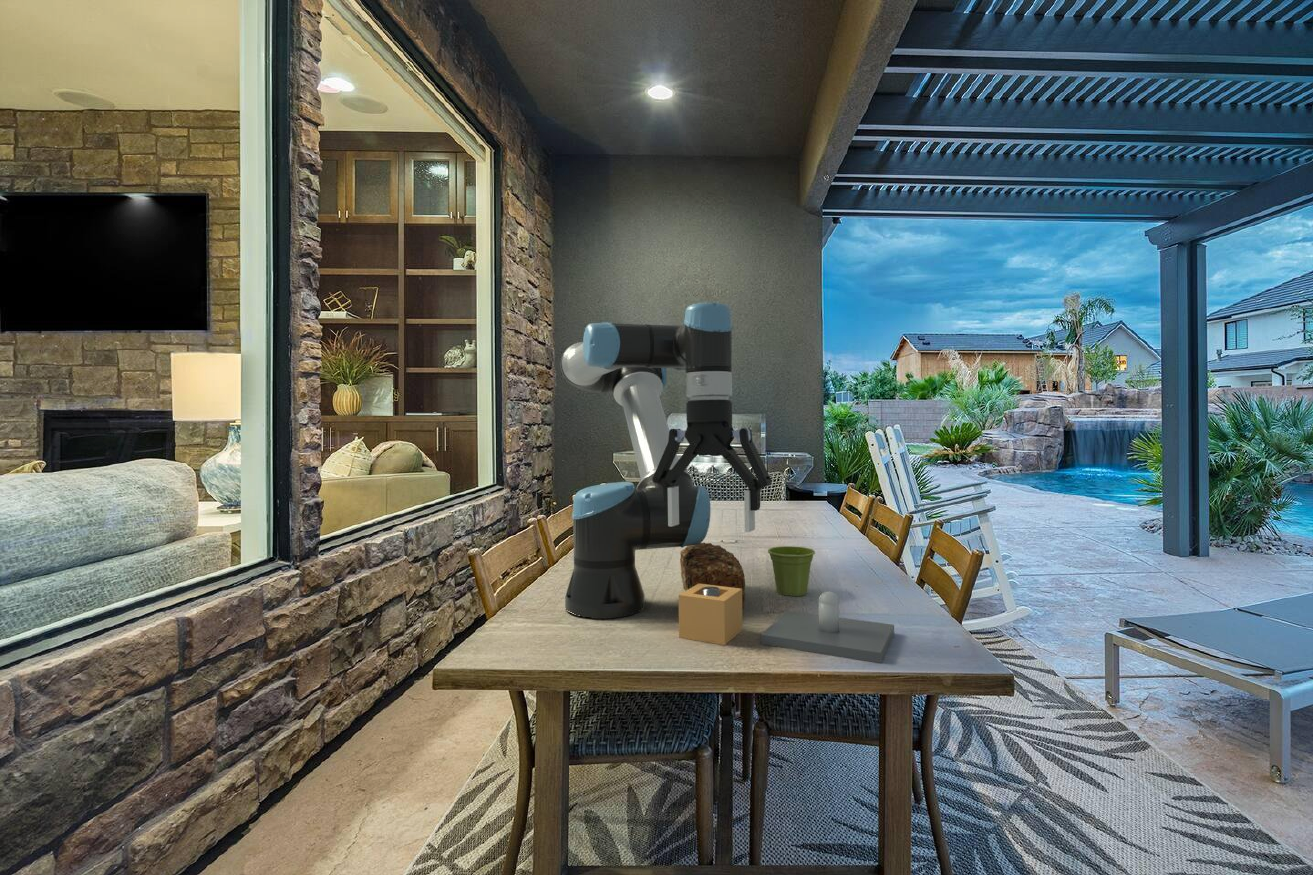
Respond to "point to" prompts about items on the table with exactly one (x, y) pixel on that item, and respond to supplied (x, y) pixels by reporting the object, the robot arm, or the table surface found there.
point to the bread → (711, 567)
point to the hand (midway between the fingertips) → (710, 528)
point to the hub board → (830, 633)
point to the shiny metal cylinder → (710, 591)
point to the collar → (710, 614)
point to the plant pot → (791, 569)
